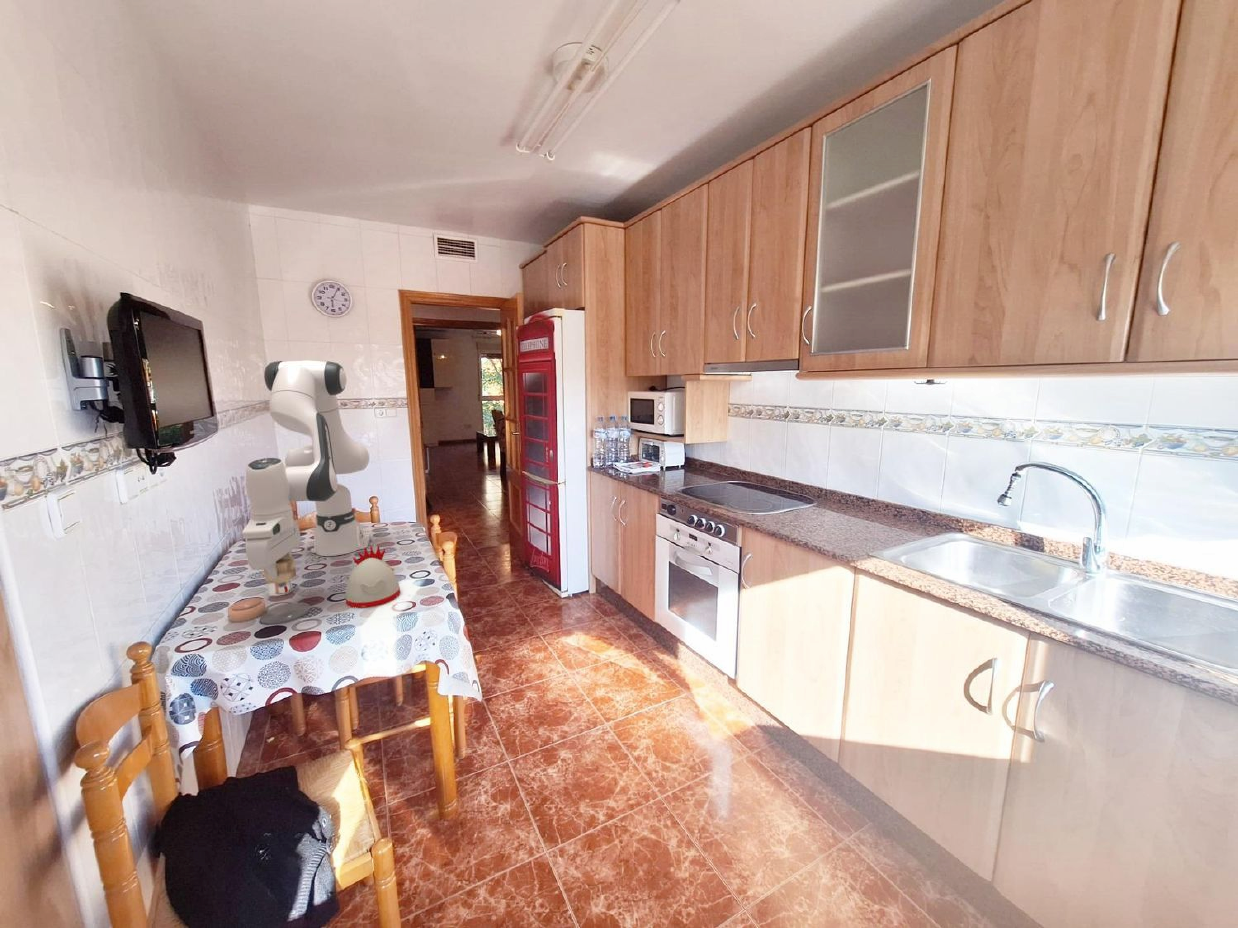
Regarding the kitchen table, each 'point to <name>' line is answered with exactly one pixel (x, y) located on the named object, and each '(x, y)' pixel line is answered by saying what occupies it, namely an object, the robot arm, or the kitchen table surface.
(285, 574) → the oak block
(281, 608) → the coaster
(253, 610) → the ramekin
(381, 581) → the kitchen timer
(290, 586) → the beer glass
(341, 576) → the kitchen table surface
